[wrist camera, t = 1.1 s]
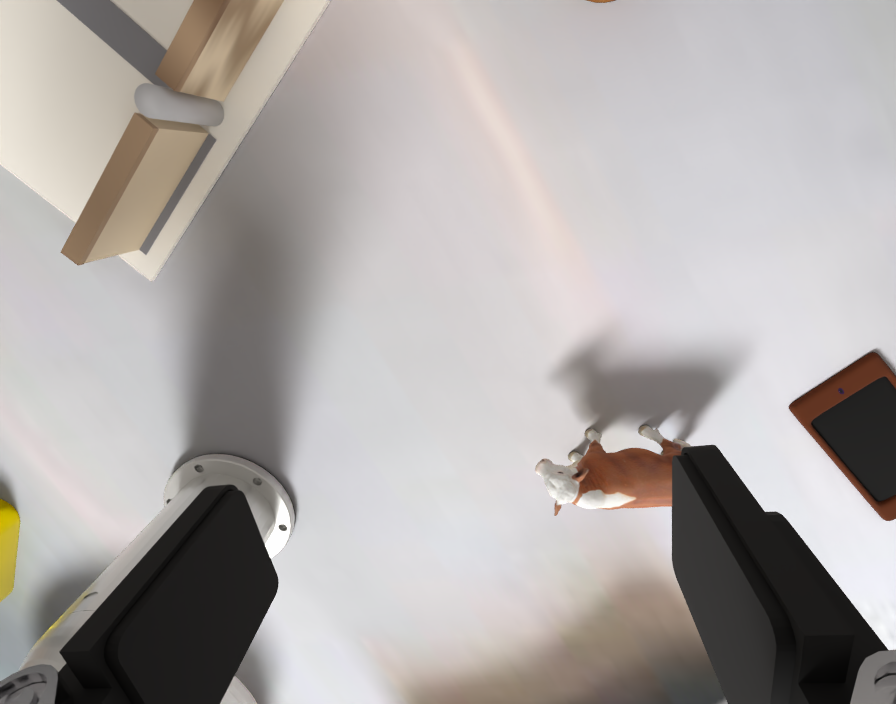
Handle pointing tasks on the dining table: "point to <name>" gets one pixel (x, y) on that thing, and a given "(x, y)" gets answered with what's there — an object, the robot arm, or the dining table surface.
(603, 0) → the disposable coffee cup
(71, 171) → the card
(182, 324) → the dining table surface
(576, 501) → the bull figurine
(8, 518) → the element tile
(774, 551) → the robot arm
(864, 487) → the smartphone
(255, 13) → the fence panel
